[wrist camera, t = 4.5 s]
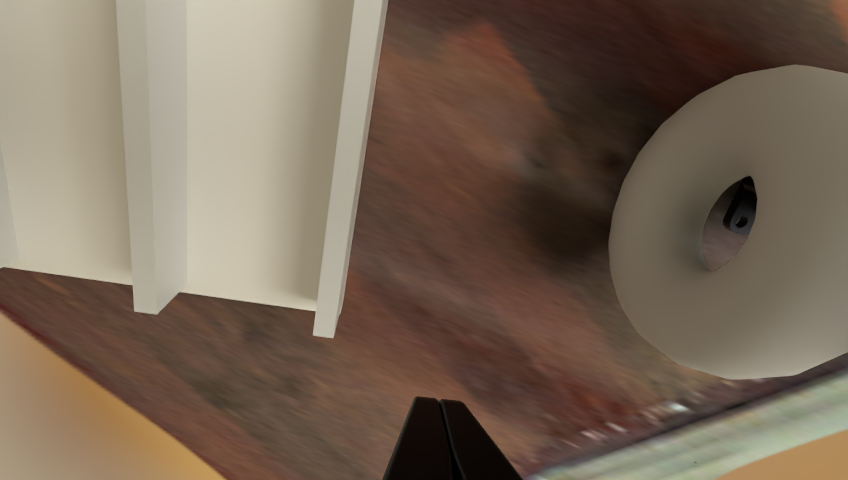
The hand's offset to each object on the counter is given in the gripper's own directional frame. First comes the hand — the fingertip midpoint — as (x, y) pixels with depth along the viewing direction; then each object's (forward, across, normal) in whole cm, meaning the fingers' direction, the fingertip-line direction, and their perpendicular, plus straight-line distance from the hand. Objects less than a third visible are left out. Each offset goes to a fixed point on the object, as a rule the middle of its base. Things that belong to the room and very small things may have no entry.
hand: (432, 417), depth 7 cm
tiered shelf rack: (+12, +9, -3) cm, 16 cm away
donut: (+12, -10, -3) cm, 16 cm away
